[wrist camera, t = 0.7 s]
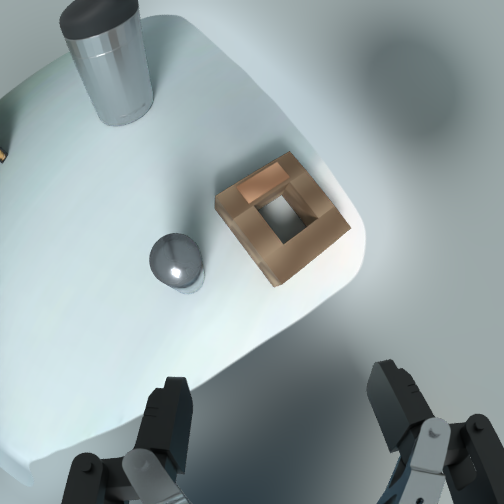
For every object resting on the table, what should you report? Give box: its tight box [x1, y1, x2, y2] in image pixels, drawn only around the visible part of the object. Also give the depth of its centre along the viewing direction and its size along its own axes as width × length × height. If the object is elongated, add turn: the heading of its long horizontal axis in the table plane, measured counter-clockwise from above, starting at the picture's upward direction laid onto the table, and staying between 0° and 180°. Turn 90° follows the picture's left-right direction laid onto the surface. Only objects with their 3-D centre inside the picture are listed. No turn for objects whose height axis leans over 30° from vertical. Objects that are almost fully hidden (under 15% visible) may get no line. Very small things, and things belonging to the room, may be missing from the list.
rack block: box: [215, 151, 351, 287], centre depth 33 cm, size 12×11×4 cm
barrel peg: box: [149, 233, 204, 294], centre depth 27 cm, size 4×4×12 cm
